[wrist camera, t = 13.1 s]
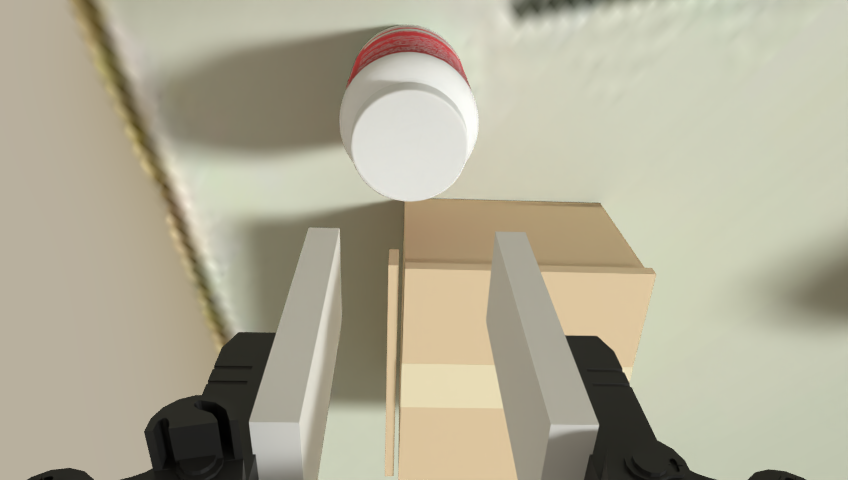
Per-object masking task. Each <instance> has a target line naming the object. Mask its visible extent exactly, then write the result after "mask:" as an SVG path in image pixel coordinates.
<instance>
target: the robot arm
mask: <svg viewBox="0 0 848 480" xmlns="http://www.w3.org/2000/svg"><path fill="white" fill-rule="evenodd" d="M341 324H342V292H341V258H340V228H313V227H309V228H308V231H307V235H306V238H305V241H304V244H303V248H302V251H301V254H300V257H299V261H298V264H297V267H296V270H295V274H294V277H293V280H292V283H291V287H290V290H289V293H288V296H287V300H286V303H285V306H284V309H283V313H282V316H281V319H280V322H279V326H278V329H277V332H276V333H252V332H239V333H237V334H236V335H235V336H234V337H233V338H232V339H231V340H230V341H229V342H228V343H227V344H226V345H224V346H223V347H222V349H221V351H220V354H219V356H218V358H217V361H216V363H215V366H214V369H213V370H212V373H211V375H210V377H209V380H208V384H207V385H206V387H205V389H204V392H203V394H202V395H195V396H191V397H187V398H183V399H179V400H177V401H175V402H173V403H171V404H169V405H167V406H165V407H163V408H162V409H161V410H160V411H159V412H158V413H156V414H155V415H154V416H153V417H152V418H151V419H150V421H149V423H148V425H147V427H146V429H145V431H144V433H145V437H146V441H147V445H148V450H149V454H150V458H151V462H152V467H153V469H151V470H149V471H147V472H145V473H142V474H139V475H136V476H133V477H129V478H125V479H121V480H317V479H318V473H319V466H320V460H321V453H322V447H323V440H324V434H325V427H326V421H327V415H328V408H329V402H330V395H331V389H332V382H333V376H334V369H335V363H336V356H337V350H338V343H339V337H340V330H341ZM486 324H487V329H488V334H489V339H490V344H491V349H492V354H493V359H494V364H495V369H496V374H497V379H498V384H499V389H500V394H501V399H502V404H503V409H504V414H505V419H506V424H507V429H508V434H509V439H510V444H511V449H512V454H513V459H514V463H515V468H516V473H517V478H518V480H715V479H712V478H708V477H705V476H702V475H699V474H696V473H694V472H692V471H690V470H689V468H688V466H687V464H686V462H685V460H684V459H683V458H682V457H680V456H679V455H678V454H677V453H676V452H675V451H674V450H673V449H672V448H670V447H668V446H666V445H665V444H663V443H661V442H659V441H657V439H656V437H655V435H654V433H653V431H652V429H651V427H650V425H649V423H648V421H647V419H646V416H645V414H644V412H643V410H642V408H641V406H640V404H639V402H638V400H637V398H636V396H635V394H634V392H633V389H632V387H630V385H629V384H630V383H629V381H628V379H627V377H626V375H625V373H624V372H623V371H622V370H623V369H622V367H621V365H620V363H619V360H618V358H617V356H616V354H615V352H614V351H613V350H612V349H611V348H610V347H609V346H608V345H607V344H605V343H604V342H603V341H602V340H601V339H600V338H599V337H598V336H574V335H565V334H564V332H563V329H562V326H561V324H560V321H559V319H558V316H557V313H556V311H555V308H554V306H553V303H552V300H551V298H550V295H549V293H548V290H547V287H546V285H545V282H544V279H543V277H542V274H541V272H540V269H539V266H538V264H537V261H536V259H535V256H534V253H533V251H532V248H531V246H530V243H529V240H528V238H527V235H526V233H525V232H497V231H495V239H494V248H493V258H492V267H491V277H490V287H489V296H488V306H487V315H486ZM28 480H94V479H93V478H91V477H90V476H89V475H88V474H87V473H86V472H84V471H81V470H76V469H72V468H66V469H56V470H50V471H47V472H44V473H42V474H39V475H36V476H34V477H31V478H29V479H28ZM748 480H806V479H804V478H802V477H799V476H796V475H794V474H791V473H788V472H786V471H777V470H769V469H768V470H764V471H760V472H755V473H754V474H753V475H752V476H751V477H750V478H749V479H748Z"/></svg>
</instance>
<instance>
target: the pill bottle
mask: <svg viewBox="0 0 848 480" xmlns="http://www.w3.org/2000/svg"><path fill="white" fill-rule="evenodd" d="M339 126H340V133H341V138H342V141H343V144H344V147H345V149H346V152H347V154H348V155H349V157H350V159H351V160H352V162H353V163H354V165H355V168H356V170H357V171H358V173H359V175H360V176H361V178H362V179H363V180H364V181H365V183H366V184H367V185H368V186H370V187H371V188H372V189H373V190H375V191H376V192H378V193H379V194H381V195H383V196H386V197H387V198H391V199H394V200H399V201H410V202H412V201H421V200H426V199H429V198H432V197H434V196H436V195H438V194H440V193H442V192H443V191H445V190H446V189H447V188H449V187H450V186H451V185H452V184H453V183H454V182H455V181H456V179H457V178H458V177H459V175H460V174H461V172H462V170H463V168H464V165H465V163H466V161H467V160H468V158H469V156H470V155H471V153H472V151H473V148H474V146H475V143H476V139H477V135H478V109H477V105H476V102H475V98H474V96H473V93H472V91H471V88H470V86H469V83H468V81H467V78H466V75H465V73H464V70H463V67H462V64H461V62H460V59H459V57H458V55H457V54H456V52H455V51H454V49H453V48H452V47H451V45H450V44H449V43H448V42H447V41H446V40H445V39H444V38H443V37H441V36H440V35H439V34H437V33H436V32H434V31H432V30H430V29H427V28H424V27H421V26H415V25H400V26H394V27H391V28H388V29H385V30H383V31H381V32H379V33H378V34H376V35H375V36H373V37H372V38H371V39H370V40H369V41H368V42H367V43H366V44H365V45H364V46H363V48H362V49H361V51H360V52H359V54H358V56H357V58H356V60H355V62H354V65H353V68H352V71H351V74H350V77H349V80H348V83H347V86H346V90H345V93H344V96H343V99H342V103H341V108H340V115H339Z"/></svg>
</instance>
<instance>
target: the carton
mask: <svg viewBox="0 0 848 480" xmlns="http://www.w3.org/2000/svg"><path fill="white" fill-rule="evenodd" d="M495 231H497V232H525V233H526V235H527V238H528V240H529V243H530V246H531V248H532V251H533V253H534V256H535V259H536V261H537V264H538V266H581V267H625V268H644V266H643V265H642V263H641V262H640V260H639V259H638V258H637V256H636V255H635V253H634V252H633V250H632V249H631V247H630V246H629V244H628V243H627V242H626V240H625V239H624V237H623V236H622V234H621V233H620V231H619V230H618V228H617V227H616V226H615V224H614V223H613V221H612V220H611V218H610V217H609V215H608V214H607V212H606V211H605V210H604V208H603V207H602V205H601V204H600V203H577V202H539V201H500V200H462V199H426V200H421V201H412V202H410V201H405V203H404V237H403V272H402V306H401V340H400V374H399V440H400V408H401V407H400V397H401V365H402V345H403V313H404V281H405V262H408V263H451V264H492V258H493V248H494V239H495Z"/></svg>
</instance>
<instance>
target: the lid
mask: <svg viewBox="0 0 848 480" xmlns="http://www.w3.org/2000/svg"><path fill="white" fill-rule="evenodd" d="M491 267H492V264H451V263H408V262H405V281H404V313H403V345H402V365H401V397H400V407H401V408H400V440H399V473H398V480H518V478H517V473H516V468H515V463H514V459H513V454H512V449H511V444H510V439H509V434H508V429H507V424H506V419H505V414H504V409H503V404H502V399H501V394H500V389H499V384H498V379H497V374H496V369H495V364H494V359H493V354H492V349H491V344H490V339H489V334H488V329H487V324H486V315H487V306H488V296H489V287H490V277H491ZM539 269H540V272H541V274H542V277H543V279H544V282H545V285H546V287H547V290H548V293H549V295H550V298H551V300H552V303H553V306H554V308H555V311H556V313H557V316H558V319H559V321H560V324H561V326H562V329H563V332H564V334H565V335H574V336H598V337H599V338H600V339H601V340H602V341H603V342H604V343H605V344H607V345H608V346H609V347H610V348H611V349H612V350H613V351H614V352H615V354H616V356H617V358H618V360H619V363H620V365H621V367H622V369H623V370H622V371H623V372H624V373H625V375H626V377H627V379H628V381H629V382H630V378H631V374H632V371H633V364H634V360H635V356H636V352H637V348H638V344H639V341H640V337H641V333H642V329H643V325H644V321H645V317H646V313H647V309H648V305H649V301H650V297H651V293H652V289H653V286H654V282H655V278H656V273H655V272H654V270H653V269H652V268H625V267H581V266H539ZM398 278H399V249H389V264H388V320H387V380H386V440H385V476H393V471H394V433H395V394H396V355H397V317H398Z"/></svg>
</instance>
